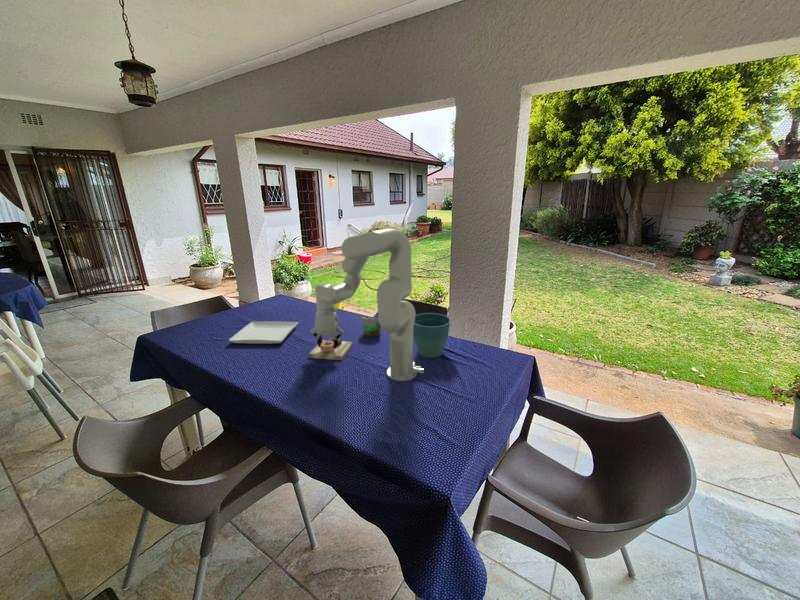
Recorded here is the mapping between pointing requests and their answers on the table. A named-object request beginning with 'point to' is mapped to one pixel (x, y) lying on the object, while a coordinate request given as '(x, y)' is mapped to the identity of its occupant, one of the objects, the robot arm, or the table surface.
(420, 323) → the flower pot
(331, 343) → the terracotta gear
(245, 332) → the square plate
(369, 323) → the food container
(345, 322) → the table surface
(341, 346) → the gear board
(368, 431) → the table surface
